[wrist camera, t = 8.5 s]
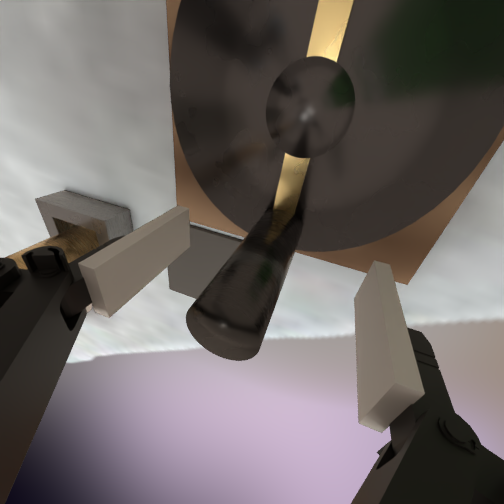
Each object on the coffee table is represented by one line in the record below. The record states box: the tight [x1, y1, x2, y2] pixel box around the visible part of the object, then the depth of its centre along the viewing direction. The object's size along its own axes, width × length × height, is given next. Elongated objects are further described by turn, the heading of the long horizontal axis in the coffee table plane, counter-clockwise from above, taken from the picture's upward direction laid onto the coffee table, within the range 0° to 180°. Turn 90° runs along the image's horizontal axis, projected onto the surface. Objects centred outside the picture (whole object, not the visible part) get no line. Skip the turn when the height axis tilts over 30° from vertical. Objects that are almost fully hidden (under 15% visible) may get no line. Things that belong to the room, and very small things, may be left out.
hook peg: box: [5, 226, 99, 269], centre depth 21 cm, size 6×4×16 cm, turn 172°
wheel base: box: [166, 0, 504, 285], centre depth 14 cm, size 19×19×1 cm
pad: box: [168, 225, 243, 299], centre depth 24 cm, size 9×9×1 cm
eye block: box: [35, 190, 133, 246], centre depth 26 cm, size 8×8×3 cm
